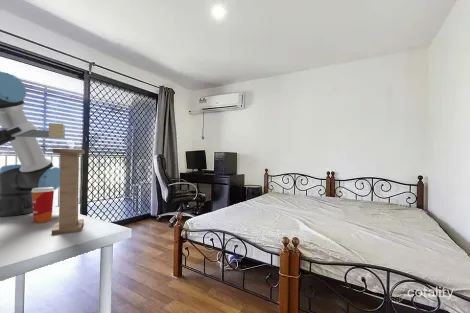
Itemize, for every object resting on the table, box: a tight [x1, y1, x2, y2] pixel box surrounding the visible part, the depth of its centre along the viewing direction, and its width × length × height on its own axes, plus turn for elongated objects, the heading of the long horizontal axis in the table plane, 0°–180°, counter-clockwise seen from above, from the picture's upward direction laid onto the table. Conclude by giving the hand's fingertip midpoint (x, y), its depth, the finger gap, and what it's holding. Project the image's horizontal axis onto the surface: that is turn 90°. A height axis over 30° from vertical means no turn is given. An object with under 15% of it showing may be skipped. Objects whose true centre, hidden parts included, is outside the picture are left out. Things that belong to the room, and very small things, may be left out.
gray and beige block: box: [0, 122, 66, 140], centre depth 80 cm, size 6×16×5 cm, turn 121°
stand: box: [51, 148, 86, 236], centre depth 85 cm, size 12×8×30 cm
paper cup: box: [31, 187, 56, 224], centre depth 94 cm, size 8×8×14 cm
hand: (33, 125), depth 80 cm, fingers closed on gray and beige block, 3 cm apart
